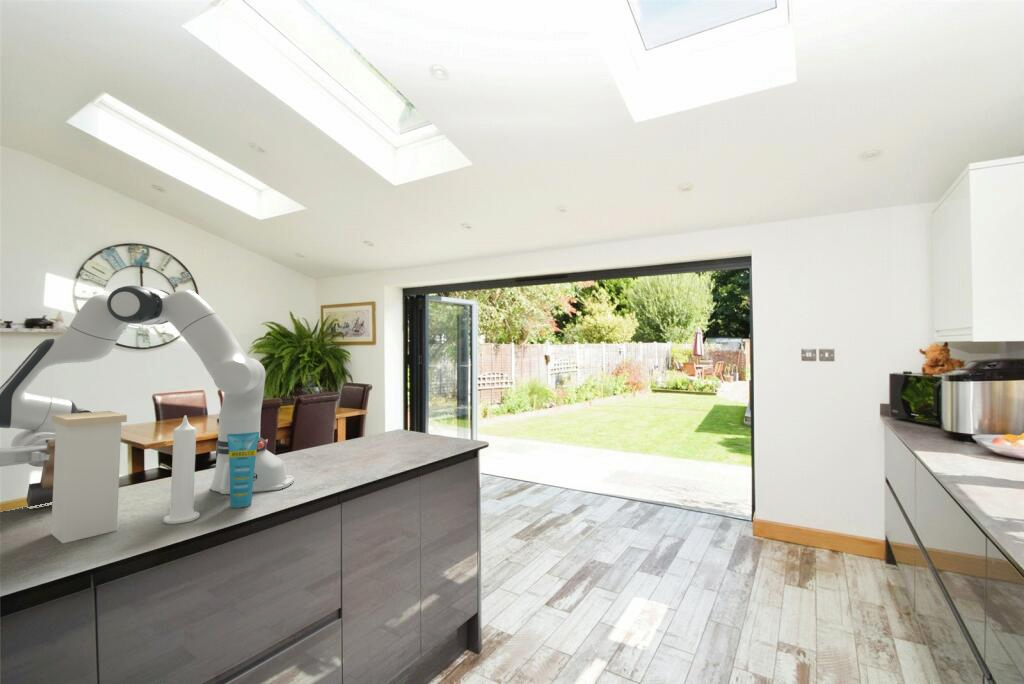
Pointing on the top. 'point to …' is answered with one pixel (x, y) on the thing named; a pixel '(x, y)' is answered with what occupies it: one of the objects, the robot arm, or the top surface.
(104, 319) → the robot arm
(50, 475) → the mallet
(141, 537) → the top surface
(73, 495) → the shelf post
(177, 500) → the candle
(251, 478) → the tube
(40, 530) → the top surface
